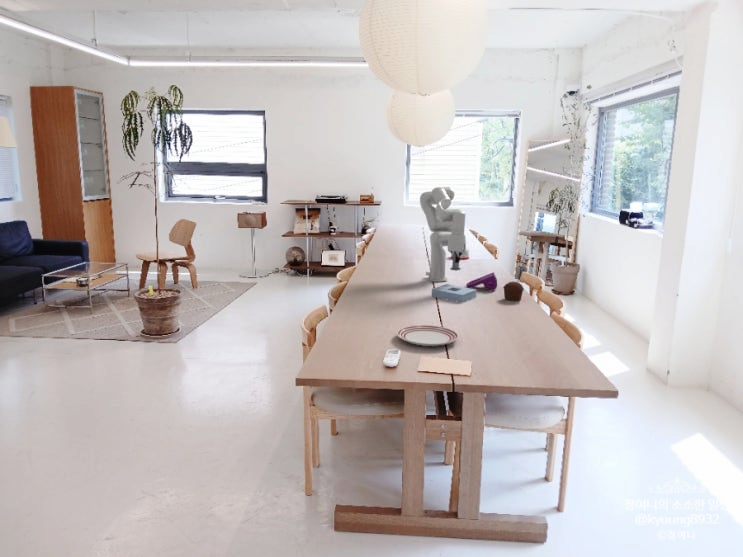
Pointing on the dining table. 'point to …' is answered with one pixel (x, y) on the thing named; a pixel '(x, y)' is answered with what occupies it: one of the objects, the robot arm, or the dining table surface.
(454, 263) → the steel bracket
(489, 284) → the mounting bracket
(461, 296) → the well block
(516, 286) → the muffin
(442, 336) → the dinner plate
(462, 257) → the kitchen timer
